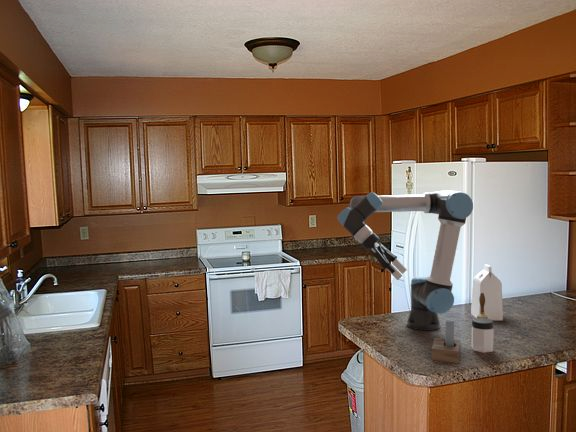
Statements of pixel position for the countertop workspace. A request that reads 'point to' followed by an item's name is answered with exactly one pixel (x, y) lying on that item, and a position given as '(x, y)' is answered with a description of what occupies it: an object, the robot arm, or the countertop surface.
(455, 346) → the hole block
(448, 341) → the peg
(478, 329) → the jar
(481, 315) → the hand bell
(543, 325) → the countertop surface
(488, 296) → the milk
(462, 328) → the countertop surface
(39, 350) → the countertop surface
